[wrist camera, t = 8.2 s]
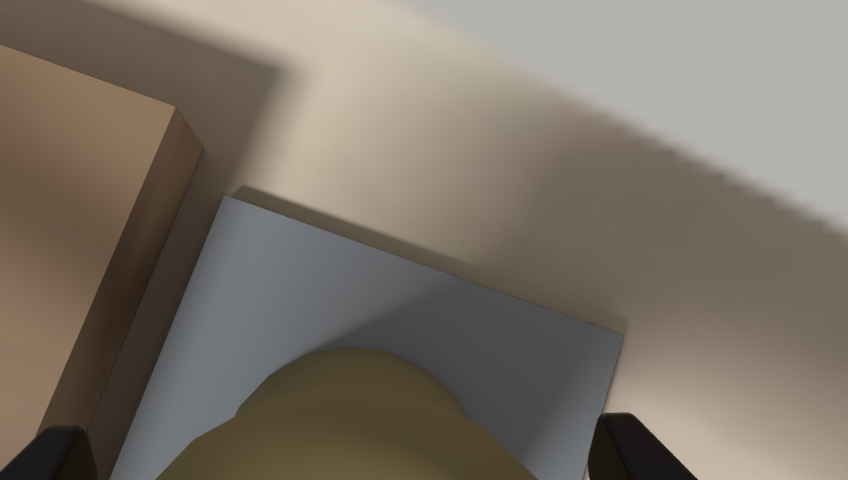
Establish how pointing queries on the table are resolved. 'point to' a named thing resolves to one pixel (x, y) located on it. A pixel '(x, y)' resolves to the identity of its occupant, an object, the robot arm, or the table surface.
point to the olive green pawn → (348, 428)
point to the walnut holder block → (76, 233)
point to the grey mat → (365, 342)
